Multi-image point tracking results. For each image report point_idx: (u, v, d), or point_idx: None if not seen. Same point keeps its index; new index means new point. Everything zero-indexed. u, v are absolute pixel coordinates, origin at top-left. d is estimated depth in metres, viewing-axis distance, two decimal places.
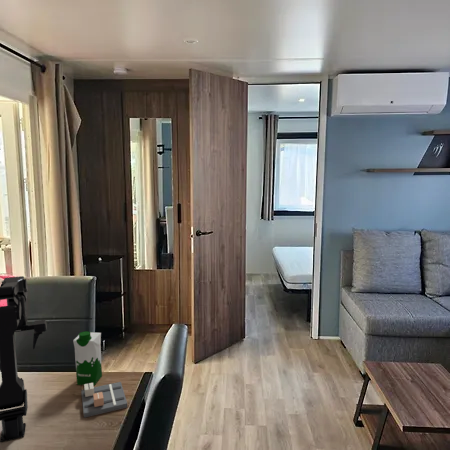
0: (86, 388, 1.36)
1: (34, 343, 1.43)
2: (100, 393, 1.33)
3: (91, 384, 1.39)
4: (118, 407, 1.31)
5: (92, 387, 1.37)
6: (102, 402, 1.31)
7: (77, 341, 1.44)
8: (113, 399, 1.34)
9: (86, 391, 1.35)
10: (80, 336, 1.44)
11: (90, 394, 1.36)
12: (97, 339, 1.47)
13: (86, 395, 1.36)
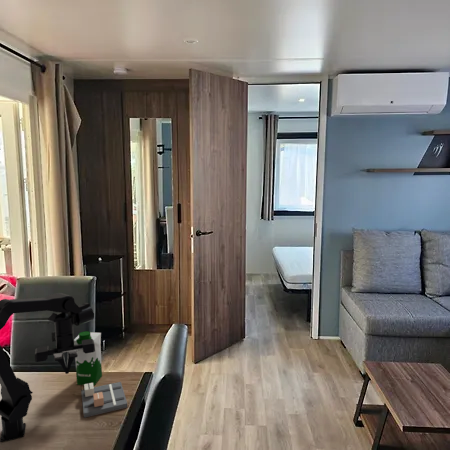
0: (86, 388, 1.36)
1: (68, 367, 1.33)
2: (100, 393, 1.33)
3: (91, 384, 1.39)
4: (118, 407, 1.31)
5: (92, 387, 1.37)
6: (102, 402, 1.31)
7: (77, 341, 1.44)
8: (113, 399, 1.34)
9: (86, 391, 1.35)
10: (80, 336, 1.44)
11: (90, 394, 1.36)
12: (97, 339, 1.47)
13: (86, 395, 1.36)
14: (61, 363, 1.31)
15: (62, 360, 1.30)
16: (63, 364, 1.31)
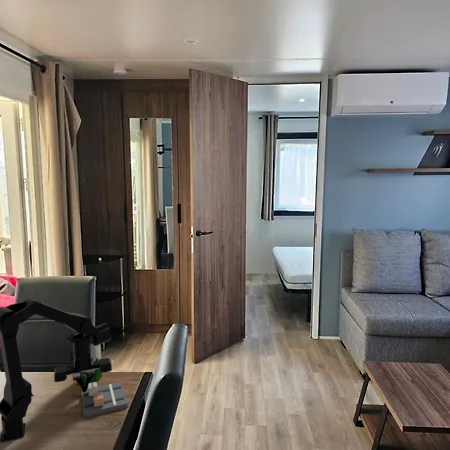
0: (90, 387, 1.37)
1: (86, 386, 1.36)
2: (100, 393, 1.33)
3: (95, 383, 1.39)
4: (118, 407, 1.31)
5: (96, 386, 1.37)
6: (102, 402, 1.31)
7: None
8: (113, 399, 1.34)
9: (90, 390, 1.36)
10: None
11: None
12: None
13: (90, 394, 1.36)
14: (79, 382, 1.34)
15: (80, 380, 1.34)
16: (81, 383, 1.34)
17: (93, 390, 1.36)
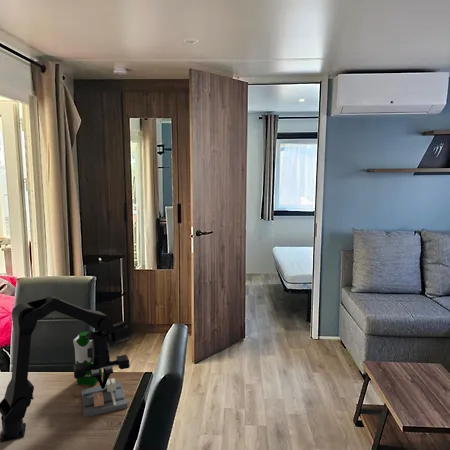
0: (108, 383, 1.39)
1: (104, 382, 1.38)
2: (100, 393, 1.33)
3: (113, 380, 1.42)
4: (118, 407, 1.31)
5: (114, 382, 1.40)
6: (102, 402, 1.31)
7: (77, 341, 1.44)
8: (113, 399, 1.34)
9: (108, 386, 1.38)
10: (80, 336, 1.44)
11: (112, 389, 1.39)
12: None
13: (109, 390, 1.39)
14: (98, 379, 1.36)
15: (99, 376, 1.36)
16: (100, 380, 1.37)
17: (111, 386, 1.39)
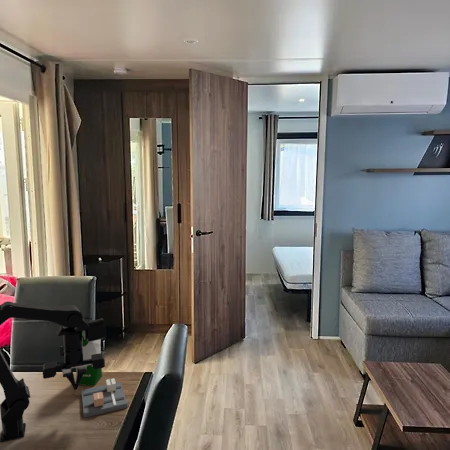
0: (108, 383, 1.39)
1: (77, 383, 1.27)
2: (100, 393, 1.33)
3: (113, 380, 1.42)
4: (118, 407, 1.31)
5: (114, 382, 1.40)
6: (102, 402, 1.31)
7: None
8: (113, 399, 1.34)
9: (108, 386, 1.38)
10: None
11: (112, 389, 1.39)
12: None
13: (109, 390, 1.39)
14: (70, 379, 1.25)
15: (71, 376, 1.25)
16: (72, 380, 1.26)
17: (111, 386, 1.39)
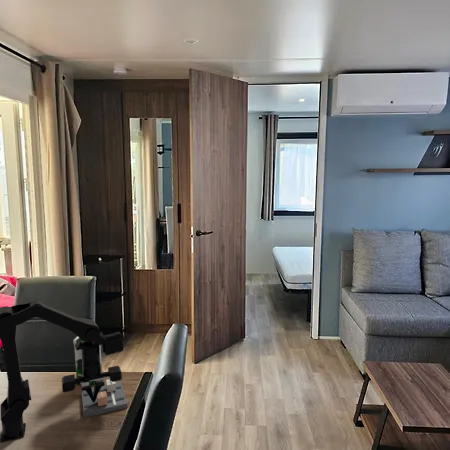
0: (108, 383, 1.39)
1: (95, 396, 1.30)
2: (104, 392, 1.34)
3: None
4: (118, 407, 1.31)
5: (114, 382, 1.40)
6: (106, 401, 1.31)
7: (77, 341, 1.44)
8: (113, 399, 1.34)
9: (108, 386, 1.38)
10: None
11: (112, 389, 1.39)
12: None
13: (109, 390, 1.39)
14: (88, 392, 1.28)
15: (89, 389, 1.28)
16: (90, 393, 1.28)
17: (111, 386, 1.39)
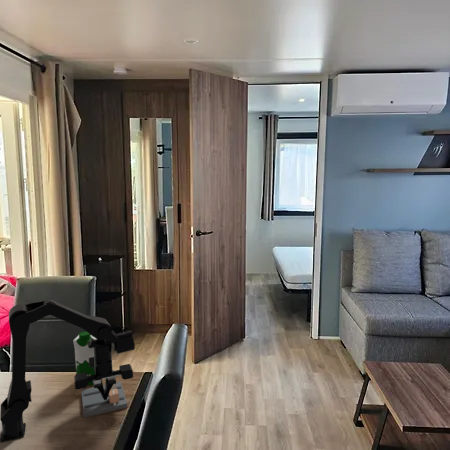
0: None
1: (107, 393, 1.31)
2: (115, 390, 1.35)
3: None
4: (118, 407, 1.31)
5: None
6: (117, 399, 1.32)
7: (77, 341, 1.44)
8: None
9: None
10: (80, 336, 1.44)
11: (112, 389, 1.39)
12: None
13: None
14: (100, 390, 1.29)
15: (101, 387, 1.29)
16: (102, 391, 1.30)
17: None
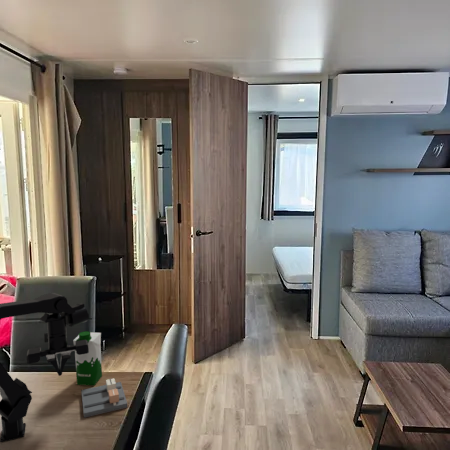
0: (108, 383, 1.39)
1: (61, 369, 1.29)
2: (115, 390, 1.35)
3: (113, 380, 1.42)
4: (118, 407, 1.31)
5: (114, 382, 1.40)
6: (117, 399, 1.32)
7: None
8: None
9: (108, 386, 1.38)
10: (80, 336, 1.44)
11: (112, 389, 1.39)
12: (97, 339, 1.47)
13: None
14: (54, 365, 1.27)
15: (55, 362, 1.27)
16: (56, 366, 1.28)
17: (111, 386, 1.39)
